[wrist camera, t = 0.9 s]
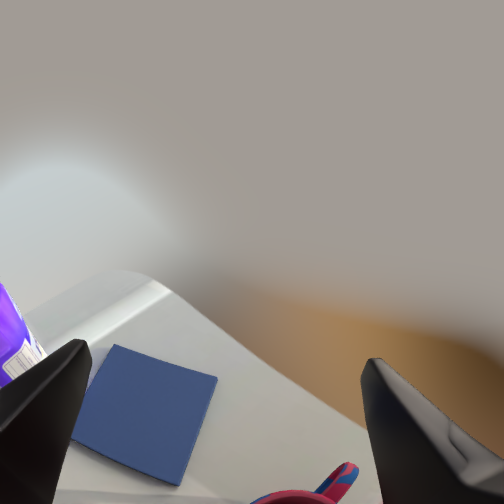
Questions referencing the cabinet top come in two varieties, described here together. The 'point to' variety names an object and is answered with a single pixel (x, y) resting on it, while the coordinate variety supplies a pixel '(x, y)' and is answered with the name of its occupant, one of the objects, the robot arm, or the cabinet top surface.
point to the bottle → (15, 341)
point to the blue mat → (144, 413)
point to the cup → (325, 495)
